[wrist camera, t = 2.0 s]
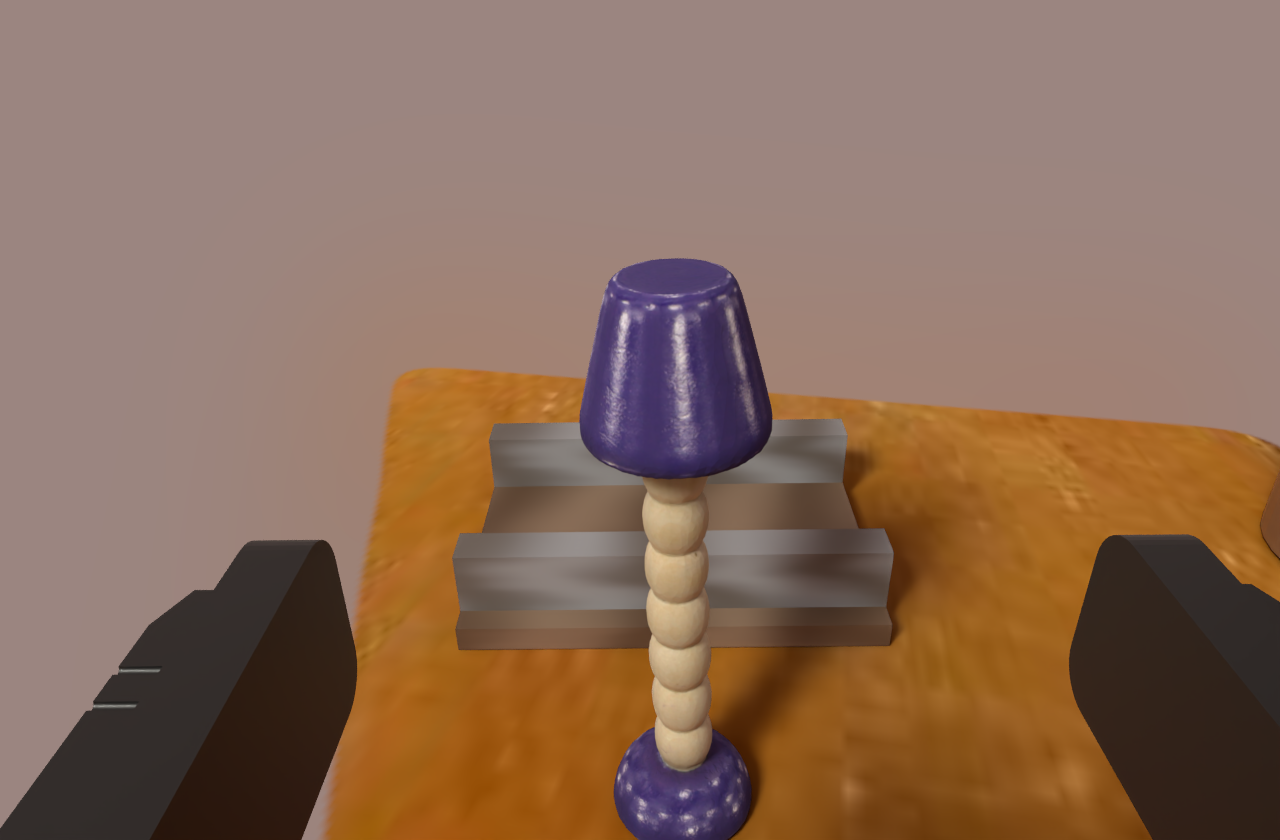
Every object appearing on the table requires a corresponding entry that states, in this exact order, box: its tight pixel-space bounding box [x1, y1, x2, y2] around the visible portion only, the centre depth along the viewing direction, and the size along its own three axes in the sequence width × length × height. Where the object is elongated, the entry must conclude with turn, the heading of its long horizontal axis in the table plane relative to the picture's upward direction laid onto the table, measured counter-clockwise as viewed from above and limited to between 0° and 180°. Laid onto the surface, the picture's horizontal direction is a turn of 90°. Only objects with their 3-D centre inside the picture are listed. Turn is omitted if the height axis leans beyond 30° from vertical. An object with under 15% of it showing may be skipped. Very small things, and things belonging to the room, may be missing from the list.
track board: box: [452, 419, 894, 650], centre depth 37 cm, size 16×12×4 cm
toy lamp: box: [579, 258, 772, 840], centre depth 24 cm, size 5×5×17 cm
